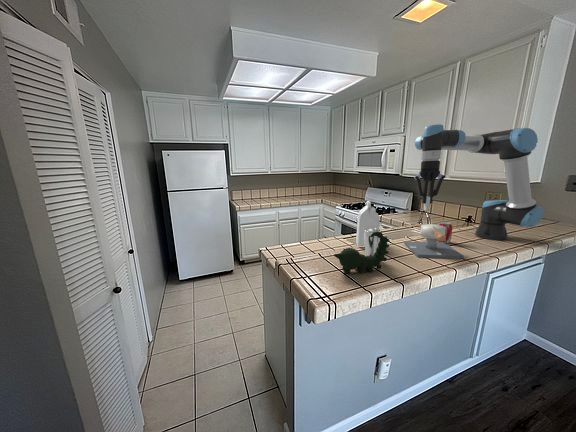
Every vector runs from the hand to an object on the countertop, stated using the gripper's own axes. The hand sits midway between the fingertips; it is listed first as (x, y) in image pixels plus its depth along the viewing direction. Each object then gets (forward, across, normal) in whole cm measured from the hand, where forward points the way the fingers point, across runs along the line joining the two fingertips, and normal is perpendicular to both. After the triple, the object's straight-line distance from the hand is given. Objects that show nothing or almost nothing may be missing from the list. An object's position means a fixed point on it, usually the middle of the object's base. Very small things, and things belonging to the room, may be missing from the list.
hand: (426, 210), depth 110 cm
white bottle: (+16, +7, +5) cm, 18 cm away
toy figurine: (+24, -32, -21) cm, 45 cm away
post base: (+24, +7, +10) cm, 27 cm away
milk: (+24, -25, +16) cm, 38 cm away
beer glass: (+24, -26, -6) cm, 36 cm away
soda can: (+25, +20, +26) cm, 40 cm away
